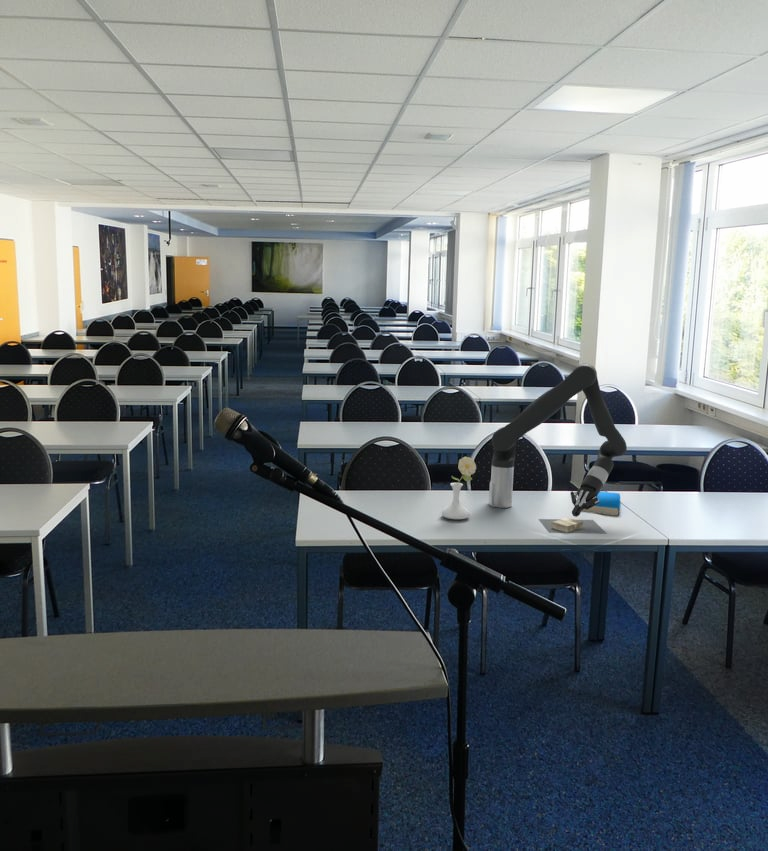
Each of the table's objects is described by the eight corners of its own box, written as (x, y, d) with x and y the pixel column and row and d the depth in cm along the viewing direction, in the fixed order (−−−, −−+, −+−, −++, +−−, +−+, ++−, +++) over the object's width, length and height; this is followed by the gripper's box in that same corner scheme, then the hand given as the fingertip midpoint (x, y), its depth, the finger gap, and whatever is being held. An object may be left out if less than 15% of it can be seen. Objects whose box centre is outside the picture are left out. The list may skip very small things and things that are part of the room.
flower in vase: (443, 521, 307) (445, 459, 303) (439, 513, 318) (441, 453, 314) (476, 522, 308) (479, 459, 304) (471, 514, 319) (473, 453, 315)
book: (577, 503, 327) (580, 488, 350) (576, 513, 328) (580, 498, 351) (620, 507, 322) (620, 492, 346) (619, 517, 323) (620, 501, 346)
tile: (582, 527, 302) (566, 532, 295) (567, 523, 307) (551, 527, 300) (583, 521, 301) (567, 526, 295) (567, 517, 307) (552, 521, 300)
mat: (549, 534, 295) (549, 532, 294) (538, 520, 312) (538, 519, 312) (607, 535, 295) (607, 533, 295) (592, 521, 313) (593, 519, 313)
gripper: (577, 471, 312) (556, 506, 306) (606, 477, 302) (585, 513, 296) (584, 482, 316) (563, 517, 310) (612, 489, 306) (592, 524, 301)
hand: (574, 515), depth 303 cm, fingers closed
